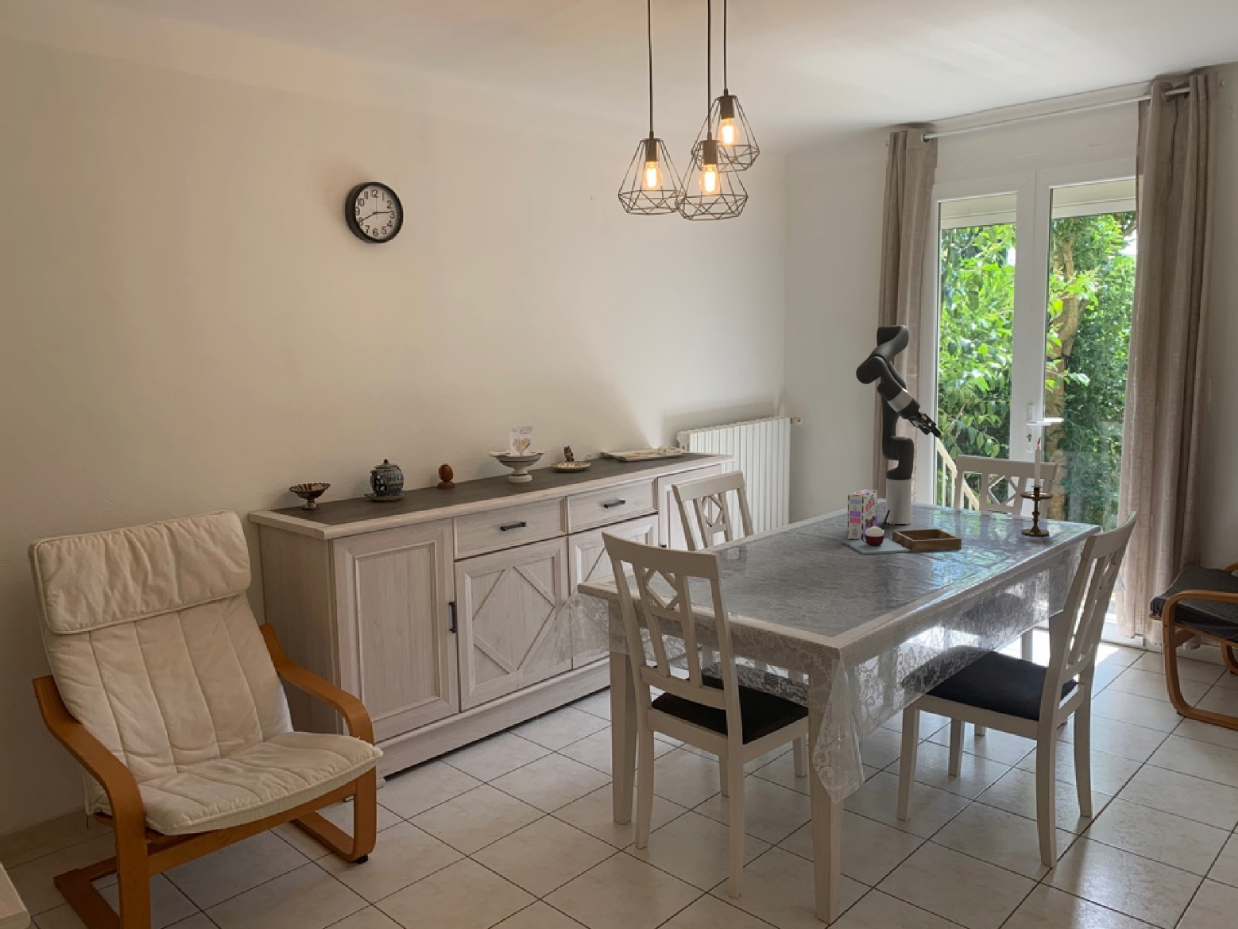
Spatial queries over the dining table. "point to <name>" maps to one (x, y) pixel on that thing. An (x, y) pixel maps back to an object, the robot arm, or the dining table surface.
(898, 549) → the board
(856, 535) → the candy box
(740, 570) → the dining table surface
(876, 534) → the cocoa
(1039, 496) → the candlestick
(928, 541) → the bin
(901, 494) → the robot arm
